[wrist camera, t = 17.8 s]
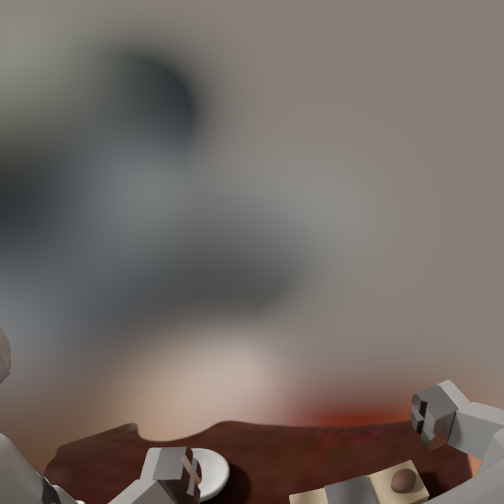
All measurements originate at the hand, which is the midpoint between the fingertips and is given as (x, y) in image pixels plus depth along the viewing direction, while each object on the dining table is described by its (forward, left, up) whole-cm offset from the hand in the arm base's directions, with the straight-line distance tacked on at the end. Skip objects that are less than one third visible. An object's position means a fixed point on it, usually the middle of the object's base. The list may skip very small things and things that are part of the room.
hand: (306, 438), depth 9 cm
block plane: (+6, +12, -34) cm, 37 cm away
